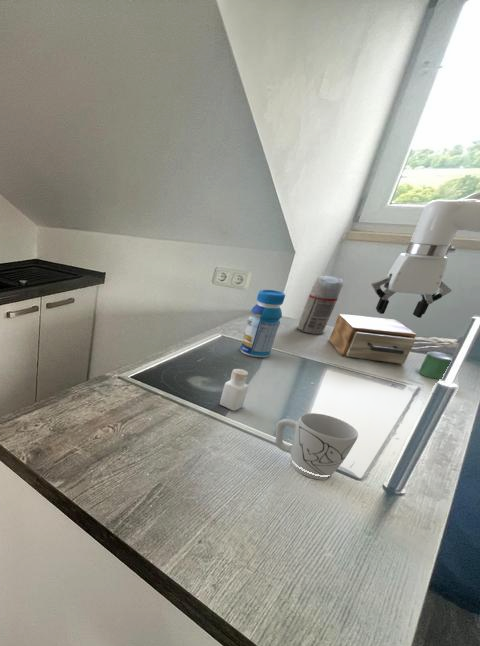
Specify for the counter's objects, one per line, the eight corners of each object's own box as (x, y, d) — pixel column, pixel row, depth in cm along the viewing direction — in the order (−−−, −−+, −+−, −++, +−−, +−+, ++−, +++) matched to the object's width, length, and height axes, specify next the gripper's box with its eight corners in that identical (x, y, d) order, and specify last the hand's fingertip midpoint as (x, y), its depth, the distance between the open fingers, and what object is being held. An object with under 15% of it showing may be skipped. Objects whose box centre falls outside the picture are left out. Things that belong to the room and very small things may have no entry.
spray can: (323, 329, 144) (343, 276, 135) (325, 336, 138) (346, 280, 129) (295, 325, 148) (313, 273, 140) (296, 332, 142) (315, 277, 133)
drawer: (411, 370, 111) (423, 345, 107) (352, 362, 116) (362, 337, 113) (386, 347, 126) (396, 325, 122) (334, 341, 131) (343, 319, 128)
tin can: (440, 372, 111) (450, 353, 109) (451, 381, 107) (462, 361, 104) (414, 369, 113) (423, 350, 111) (423, 377, 109) (433, 357, 106)
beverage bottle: (263, 360, 119) (283, 297, 111) (234, 352, 125) (251, 291, 117) (274, 353, 124) (293, 292, 116) (245, 345, 130) (262, 287, 122)
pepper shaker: (243, 407, 95) (253, 372, 91) (233, 412, 93) (244, 376, 89) (227, 400, 98) (236, 366, 94) (218, 404, 96) (227, 370, 92)
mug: (259, 458, 77) (274, 416, 73) (276, 442, 82) (291, 402, 78) (329, 491, 69) (350, 445, 65) (344, 471, 74) (364, 427, 69)
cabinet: (402, 364, 117) (416, 334, 113) (341, 355, 122) (353, 327, 118) (383, 347, 129) (395, 319, 125) (329, 340, 134) (339, 313, 130)
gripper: (463, 250, 102) (432, 314, 109) (378, 246, 109) (355, 307, 116) (480, 254, 96) (446, 322, 103) (389, 250, 103) (363, 314, 110)
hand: (398, 314), depth 110 cm, fingers open, 7 cm apart
